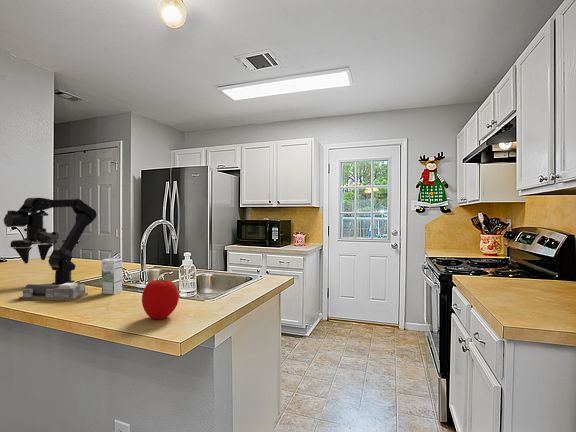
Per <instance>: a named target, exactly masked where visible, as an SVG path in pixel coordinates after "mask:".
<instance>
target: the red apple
mask: <svg viewBox="0 0 576 432" xmlns="http://www.w3.org/2000/svg"><path fill="white" fill-rule="evenodd" d="M179 294H180V293H179V289H178V287H177V285H176V284H175V282H174V281H172V280H170V279H163V278H160V279H154V280H151V281H149V282H148V283H147V284H146V285H145V287H144V289H143V291H142V295H141V305H142V308H143V310H144V312H145V313H146V315H147V316H148V317H149V318H152V319H154V320H162V319H166V318H168V317H169V316H170V315H171V314H173V312H174V311H175V309H176V307H177V305H178V303H179V297H180V295H179Z"/></svg>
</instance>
